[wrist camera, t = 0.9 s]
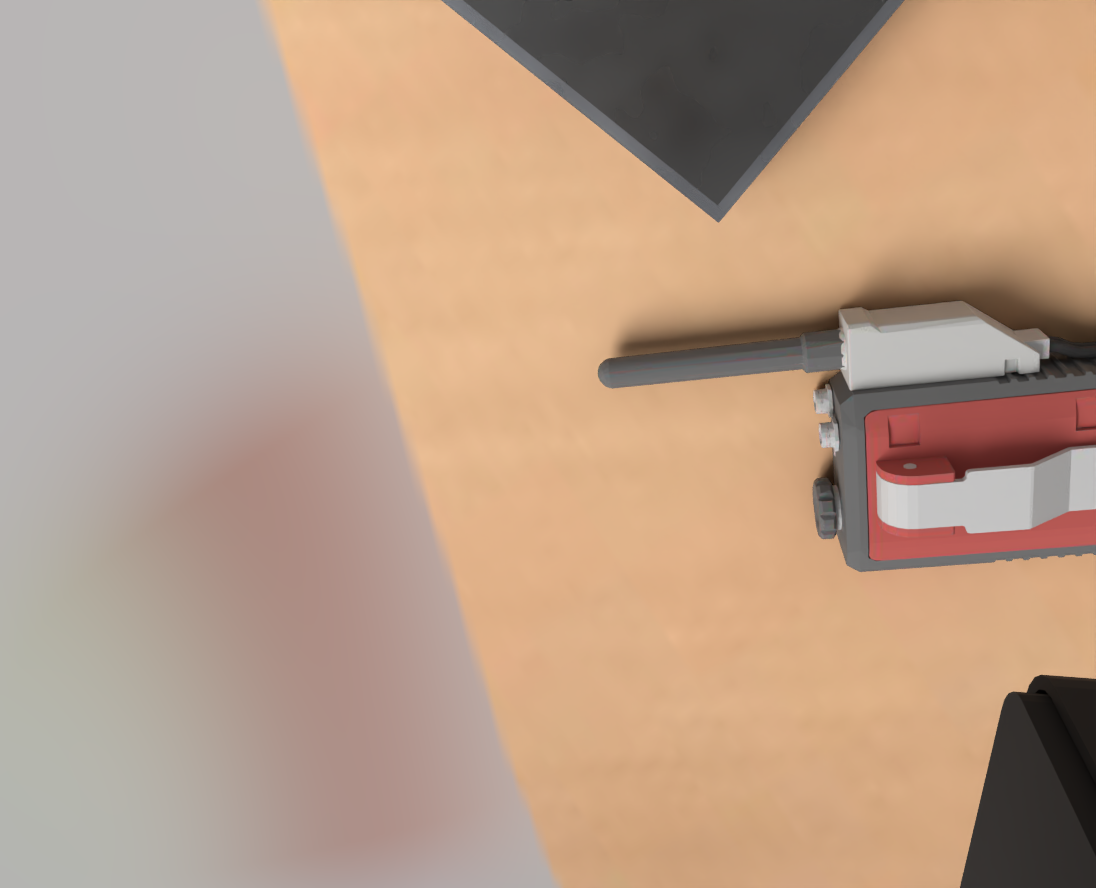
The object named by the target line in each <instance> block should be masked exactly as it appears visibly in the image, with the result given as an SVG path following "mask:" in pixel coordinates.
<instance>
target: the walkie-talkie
mask: <svg viewBox="0 0 1096 888" xmlns="http://www.w3.org/2000/svg"><path fill="white" fill-rule="evenodd" d="M798 369H803V370H804V371H805V372H806V373H810V372H820V371H829V370H838V369H841V371H840V372H839V373H837V374H836V375H835V376H834V377H832V378H831V379H830V380H829V383H830V385H829V384H826V385H825V388H824V389H818V390H814V392H813V400H814V407H815V412H816V414H822V413H828V416H829V417H831V422H827V423H819V437H820V443H821V446H822V448H825V447H832V448H833V470H834V485H832V484H831V481H830V480H829V479H828V478H817V479H816V480H815V481H814V483H813V504H814V512H815V521H816V527H817V531H818V535H819V536H820V537H821V538H822V539H832V538H834V537H835V535H836V532H837V535H838V539H839V542H840V545H841V548H842V551H843V555H844V558H845V561H846V564H847V566H849V567H851V568H853V569H855V570H857V571H859V572H866V571H879V570H893V569H907V568H921V567H935V566H948V565H962V564H976V563H990V562H995V561H996V560H1005V559H1006V561H1012V560H1013V559H1018V558H1023V559H1024V560H1029V559H1030V558H1033V557H1041V559H1044V558H1047V557H1048V556H1058V557H1064V556H1065V555H1074V554H1075V555H1076V556H1082V554H1088V553H1093V554H1094V555H1096V342H1087V343H1078V342H1069V341H1067V340H1064V339H1062V338H1059V337H1052V336H1046V335H1045V334H1044V333H1043V332H1042V331H1041V330H1040V329H1038V328H1034V329H1025V330H1015V331H1014V330H1012V329H1010V328H1009V327H1007V326H1005V325H1003V324H1002V323H1000V322H998V321H996V320H995V319H993V318H991V317H990V316H988V315H986V314H984V313H983V312H981V311H979V310H978V309H976V308H974V307H972V306H971V305H969V304H967V303H965V302H964V301H952V302H943V303H934V304H924V305H915V306H906V307H897V308H887V309H878V310H869V311H868V310H866V309H864V308H862V307H857V308H848V309H839V328H838V329H834V330H825V331H816V332H807V333H803V334H802V335H801V336H800V337H798V338H789V339H780V340H771V341H762V342H753V343H744V344H735V345H726V346H717V347H708V348H699V349H690V350H681V351H673V352H664V353H654V354H645V355H636V356H627V357H618V358H609V359H606V360H605V361H603V362H602V363H601V364H600V366H599V369H598V377H599V379H600V381H601V382H602V383H603V384H604V385H605V386H606V387H609V388H621V387H631V386H641V385H651V384H660V383H670V382H680V381H690V380H700V379H710V378H720V377H729V376H739V375H749V374H759V373H769V372H779V371H788V370H798Z"/></svg>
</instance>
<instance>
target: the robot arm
mask: <svg viewBox="0 0 1096 888" xmlns="http://www.w3.org/2000/svg"><path fill="white" fill-rule="evenodd" d="M960 888H1096V679H1089V678H1076V677H1063V676H1049V675H1040V676H1037V677H1035V678H1034V679H1033V681H1032V682H1031V684H1030V685H1029V688H1028V691H1027V693H1023V692H1011V693H1009V694H1008V695H1007V697H1006V698H1005V700H1004V703H1003V706H1002V710H1001V714H1000V718H999V723H998V727H997V731H996V736H995V740H994V744H993V748H992V753H991V757H990V761H989V766H988V770H987V774H986V778H985V783H984V787H983V791H982V796H981V800H980V804H979V808H978V813H977V817H976V821H975V826H974V830H973V834H972V838H971V843H970V847H969V851H968V856H967V860H966V864H965V868H964V873H963V877H962V881H961V886H960Z"/></svg>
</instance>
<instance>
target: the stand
mask: <svg viewBox="0 0 1096 888" xmlns="http://www.w3.org/2000/svg"><path fill="white" fill-rule="evenodd" d="M442 1H443V2H444V3H445V4H447V5H448V6H449V7H450V8H452V9H453V10H454V11H455V12H457V13H458V14H459V15H460V16H462V17H463V18H464V19H465V20H467V21H468V22H469V23H470V24H472V25H473V26H474V27H475V28H477V29H478V30H479V31H480V32H482V33H483V34H484V35H485V36H486V37H488V38H489V39H490V40H491V41H493V42H494V43H495V44H496V45H498V46H499V47H500V48H501V49H503V50H504V51H505V52H506V53H508V54H509V55H510V56H511V57H513V58H514V59H515V60H516V61H518V62H519V63H520V64H521V65H523V66H524V67H525V68H526V69H528V70H529V71H530V72H531V73H533V74H534V75H535V76H536V77H538V78H539V79H540V80H541V81H543V82H544V83H545V84H546V85H548V86H549V87H550V88H551V89H553V90H554V91H555V92H556V93H558V94H559V95H560V96H561V97H563V98H564V99H565V100H566V101H567V102H569V103H570V104H571V105H572V106H574V107H575V108H576V109H577V110H579V111H580V112H581V113H582V114H584V115H585V116H586V117H587V118H589V119H590V120H591V121H592V122H594V123H595V124H596V125H597V126H599V127H600V128H601V129H602V130H604V131H605V132H606V133H607V134H609V135H610V136H611V137H612V138H614V139H615V140H616V141H617V142H619V143H620V144H621V145H622V146H624V147H625V148H626V149H627V150H629V151H630V152H631V153H632V154H634V155H635V156H636V157H637V158H639V159H640V160H641V161H642V162H643V163H645V164H646V165H647V166H648V167H650V168H651V169H652V170H653V171H655V172H656V173H657V174H658V175H660V176H661V177H662V178H663V179H665V180H666V181H667V182H668V183H670V184H671V185H672V186H673V187H675V188H676V189H677V190H678V191H680V192H681V193H682V194H683V195H685V196H686V197H687V198H688V199H690V200H691V201H692V202H693V203H695V204H696V205H697V206H698V207H700V208H701V209H702V210H703V211H705V212H706V213H707V214H708V215H710V216H711V217H712V218H713V219H715V220H716V221H717V222H718V223H719V222H720V220H721V219H722V218H723V217H724V216H725V214H726V213H727V212H728V211H729V210H730V208H731V207H732V206H733V205H734V204H735V202H736V201H737V200H738V199H739V198H740V196H741V195H742V194H743V193H744V192H745V190H746V189H747V188H748V187H749V186H750V185H751V183H752V182H753V181H754V180H755V179H756V177H757V176H758V175H759V174H760V173H761V171H762V170H763V169H764V168H765V167H766V165H767V164H768V163H769V162H770V161H771V159H772V158H773V157H774V156H775V155H776V153H777V152H778V151H779V150H780V149H781V147H782V146H783V145H784V144H785V143H786V141H787V140H788V139H789V138H790V137H791V135H792V134H793V133H794V132H795V131H796V129H797V128H798V127H799V126H800V125H801V123H802V122H803V121H804V120H805V119H806V117H807V116H808V115H809V114H810V113H811V111H812V110H813V109H814V108H815V107H816V105H817V104H818V103H819V102H820V101H821V99H822V98H823V97H824V96H825V95H826V93H827V92H828V91H829V90H830V89H831V87H832V86H833V85H834V84H835V83H836V81H837V80H838V79H839V78H840V77H841V75H842V74H843V73H844V72H845V71H846V70H847V68H848V67H849V66H850V65H851V64H852V62H853V61H854V60H855V59H856V58H857V56H858V55H859V54H860V53H861V52H862V50H863V49H864V48H865V47H866V46H867V44H868V43H869V42H870V41H871V40H872V38H873V37H874V36H875V35H876V34H877V32H878V31H879V30H880V29H881V28H882V26H883V25H884V24H885V23H886V22H887V20H888V19H889V18H890V17H891V16H892V14H893V13H894V12H895V11H896V10H897V8H898V7H899V6H900V5H901V4H902V2H903V1H904V0H442Z"/></svg>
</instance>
